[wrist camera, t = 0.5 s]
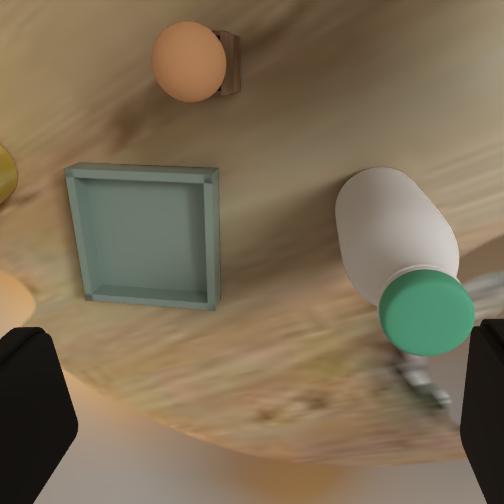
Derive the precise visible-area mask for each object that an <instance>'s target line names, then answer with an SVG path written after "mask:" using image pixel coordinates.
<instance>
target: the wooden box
mask: <svg viewBox="0 0 504 504" xmlns="http://www.w3.org/2000/svg"><path fill="white" fill-rule="evenodd" d="M212 32H213V33H214V34H215V35H216V36H217V38H218V39H219V41H220V42H221V44H222V46H223V49H224V52H225V56H226V72H225V76H224V80H223V82H222V84H221V86H220V87H219V89H218V90H217V91H216V92H215V93H214V94H213V95H228V94H232V93H235V92H239V91H240V37H238V36H236V35H233V34H231V33H229V32H226V31H212Z"/></svg>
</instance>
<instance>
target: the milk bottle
mask: <svg viewBox="0 0 504 504" xmlns="http://www.w3.org/2000/svg"><path fill="white" fill-rule="evenodd" d="M335 217H336V224H337V231H338V238H339V244H340V250H341V255H342V259H343V263H344V267H345V270H346V273H347V275H348V277H349V279H350V281H351V283H352V284H353V286H354V287H355V288H356V290H357V291H358V292H359V293H360V294H361V295H362V296H363V297H364V298H365V299H366V300H367V301H369V302H370V303H372V304H374V305H375V306H377V310H378V313H379V317H380V322H381V325H382V328H383V330H384V333H385V334H386V336H387V338H388V339H389V340H390V341H391V342H392V343H393V344H394V345H395V346H396V347H397V348H399V349H400V350H402V351H404V352H406V353H409V354H413V355H418V356H434V355H439V354H442V353H446V352H448V351H450V350H452V349H454V348H456V347H457V346H459V345H460V344H461V343H462V342H463V341H464V340H465V339H466V338H467V337H468V335H469V334H470V332H471V330H472V328H473V325H474V320H475V312H474V306H473V303H472V300H471V298H470V297H469V295H468V293H467V291H466V290H465V289H464V287H463V286H462V285H461V283H460V282H459V280H458V279H457V278H456V275H457V271H458V265H459V251H458V245H457V241H456V239H455V236H454V234H453V231H452V229H451V227H450V226H449V224H448V223H447V221H446V220H445V218H444V217H443V216H442V214H441V213H440V212H439V211H438V209H437V208H436V207H435V206H434V205H433V203H432V202H431V201H430V200H429V199H428V197H427V196H426V195H425V194H424V193H423V192H422V191H421V189H420V188H419V187H418V186H417V185H416V184H415V183H414V182H413V181H412V180H411V179H410V178H409V177H408V176H407V175H405V174H404V173H402V172H400V171H398V170H395V169H392V168H387V167H375V168H370V169H366V170H363V171H361V172H359V173H357V174H356V175H354V176H353V177H351V178H350V179H349V180H348V181H347V182H346V183H345V184H344V186H343V187H342V189H341V190H340V192H339V194H338V197H337V200H336V205H335Z"/></svg>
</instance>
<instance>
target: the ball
mask: <svg viewBox="0 0 504 504" xmlns="http://www.w3.org/2000/svg"><path fill="white" fill-rule="evenodd" d="M152 68H153V72H154V75H155V78H156V80H157V82H158V83H159V85H160V86H161V87H162V89H163V90H164V91H165V92H166V93H167V94H169V95H170V96H172V97H173V98H175V99H177V100H180V101H184V102H199V101H202V100H205V99H207V98H209V97H210V96H211V95H213V94H214V93H215V92H216V91H217V90H218V89H219V87H220V86H221V84H222V82H223V80H224V76H225V72H226V56H225V52H224V49H223V46H222V44H221V42H220V41H219V39H218V38H217V36H216V35H215V34H214V33H213V32H212V31H211V30H209V29H208V28H207V27H205V26H203V25H201V24H199V23H195V22H188V21H185V22H178V23H175V24H173V25H171V26H169V27H167V28H166V29H165V30H164V31H163V32H162V33H161V34H160V35H159V37H158V38H157V40H156V42H155V44H154V47H153V51H152Z"/></svg>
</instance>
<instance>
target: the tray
mask: <svg viewBox="0 0 504 504" xmlns="http://www.w3.org/2000/svg"><path fill="white" fill-rule="evenodd" d="M64 171H65V177H66V183H67V189H68V195H69V201H70V207H71V213H72V219H73V225H74V231H75V237H76V243H77V249H78V255H79V261H80V268H81V274H82V280H83V286H84V292H85V298H86V300H89V301H102V302H114V303H126V304H139V305H151V306H163V307H176V308H188V309H200V310H213V311H216V308H217V306H218V304H219V301H220V299H221V271H220V221H219V171H218V168H201V167H176V166H151V165H127V164H102V163H77V164H75V165H72V166H69V167H67V168H64Z"/></svg>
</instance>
